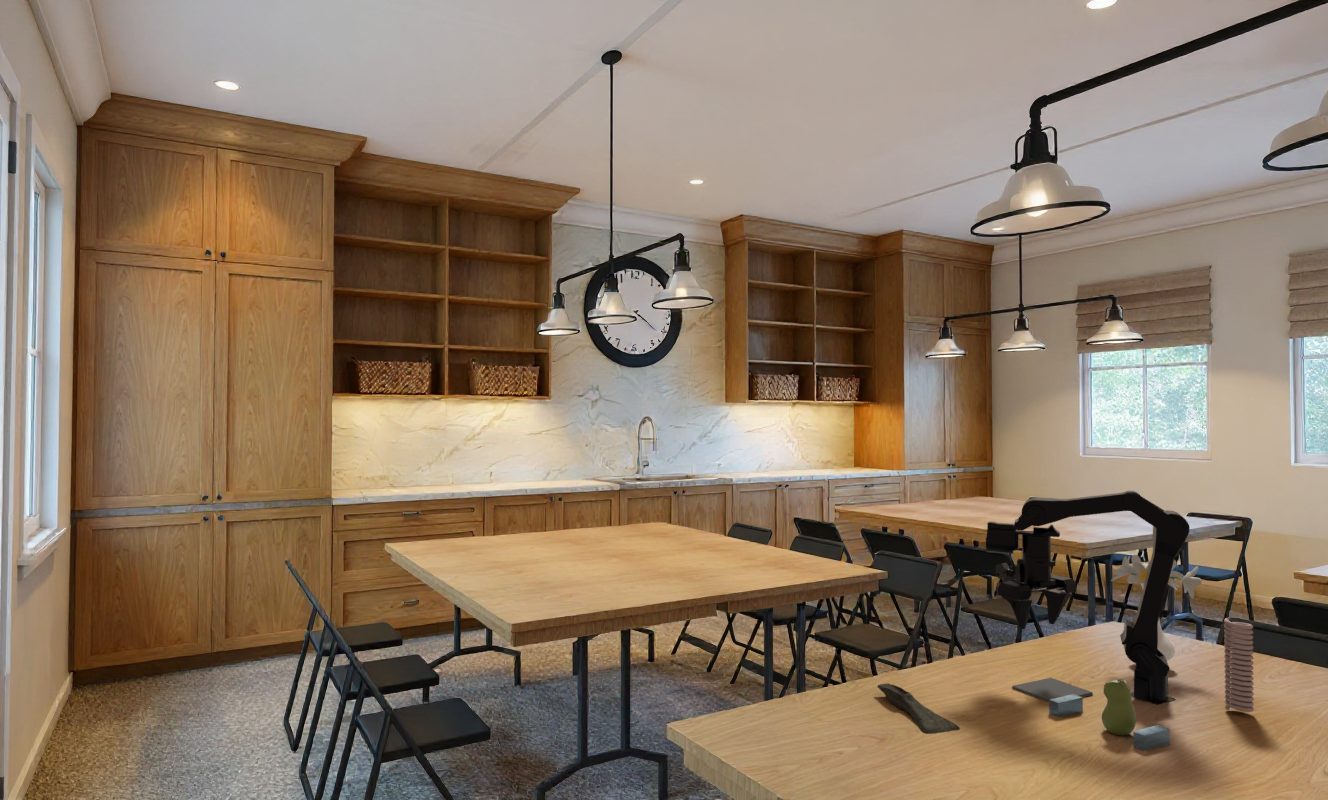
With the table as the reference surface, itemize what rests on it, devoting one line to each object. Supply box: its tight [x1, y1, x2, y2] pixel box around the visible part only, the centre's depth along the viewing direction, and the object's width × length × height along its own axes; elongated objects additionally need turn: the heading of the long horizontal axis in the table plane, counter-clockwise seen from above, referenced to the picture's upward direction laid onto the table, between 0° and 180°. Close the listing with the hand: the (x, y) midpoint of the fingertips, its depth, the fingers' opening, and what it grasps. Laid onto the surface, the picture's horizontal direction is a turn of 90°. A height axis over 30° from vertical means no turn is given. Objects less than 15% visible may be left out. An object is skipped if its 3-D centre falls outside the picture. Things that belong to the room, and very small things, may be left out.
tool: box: [876, 683, 960, 735], centre depth 154 cm, size 21×8×3 cm, turn 18°
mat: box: [1011, 677, 1094, 703], centre depth 167 cm, size 12×10×1 cm
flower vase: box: [1110, 554, 1202, 662], centre depth 186 cm, size 13×18×25 cm
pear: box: [1101, 679, 1137, 737], centre depth 145 cm, size 6×5×10 cm
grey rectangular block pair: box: [1048, 694, 1171, 752], centre depth 147 cm, size 7×19×3 cm, turn 25°
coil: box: [1223, 617, 1255, 713], centre depth 156 cm, size 5×5×18 cm
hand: (1037, 626), depth 173 cm, fingers open, 9 cm apart
